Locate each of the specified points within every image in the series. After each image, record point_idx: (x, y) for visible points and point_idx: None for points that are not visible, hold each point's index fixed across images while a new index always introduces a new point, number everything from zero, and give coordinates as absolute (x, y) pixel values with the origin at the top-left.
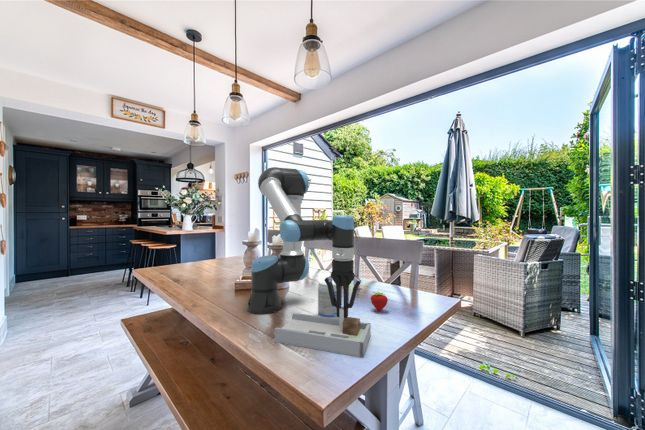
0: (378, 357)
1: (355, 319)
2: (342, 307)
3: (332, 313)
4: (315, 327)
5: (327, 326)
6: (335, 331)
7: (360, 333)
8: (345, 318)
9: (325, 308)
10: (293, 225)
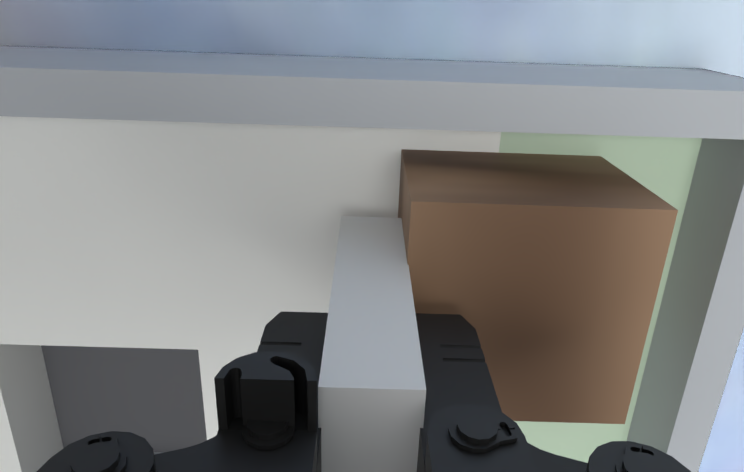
0: (731, 449)
1: (595, 272)
2: (360, 437)
3: None
4: (8, 257)
5: (140, 182)
6: (294, 291)
7: None
8: (415, 283)
9: None
10: None
